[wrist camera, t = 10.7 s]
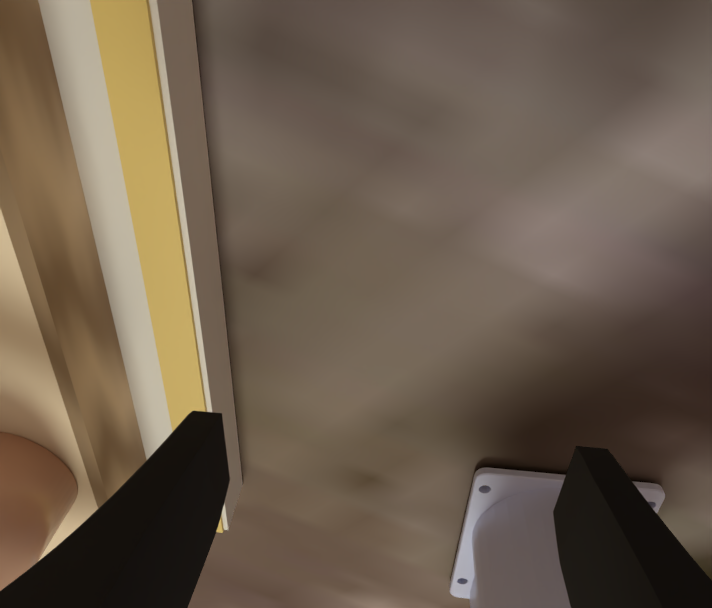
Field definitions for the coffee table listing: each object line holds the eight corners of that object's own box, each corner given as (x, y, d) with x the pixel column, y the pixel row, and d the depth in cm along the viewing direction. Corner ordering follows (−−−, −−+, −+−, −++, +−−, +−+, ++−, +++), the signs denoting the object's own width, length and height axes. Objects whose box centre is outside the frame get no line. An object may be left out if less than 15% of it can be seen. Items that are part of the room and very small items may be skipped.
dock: (242, 483, 27) (227, 533, 25) (19, 461, 28) (-16, 507, 26) (162, -281, 13) (109, -324, 11) (-293, -293, 14) (-432, -336, 11)
